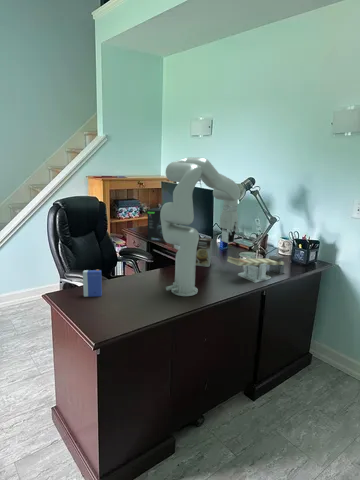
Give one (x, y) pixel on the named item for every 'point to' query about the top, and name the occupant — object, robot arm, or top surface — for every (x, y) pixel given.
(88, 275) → the walkman
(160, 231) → the headset box
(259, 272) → the beam stand
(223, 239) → the block
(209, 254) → the coffee box
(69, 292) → the top surface
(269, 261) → the beam
